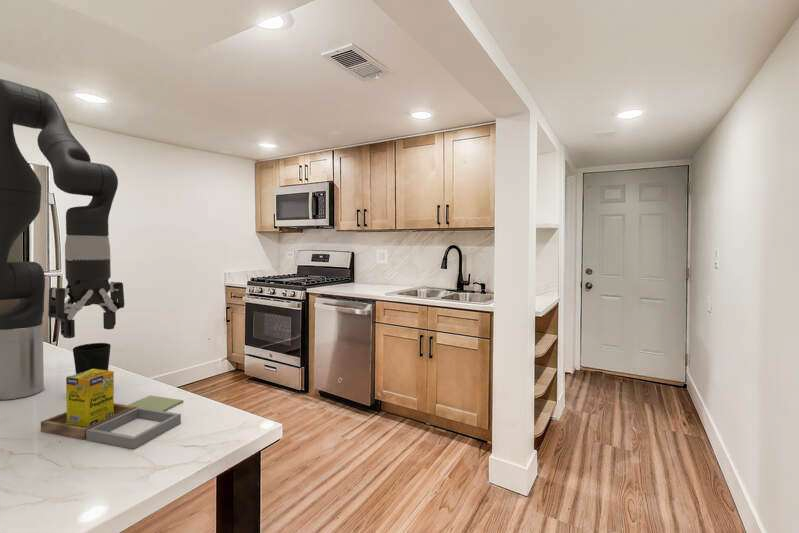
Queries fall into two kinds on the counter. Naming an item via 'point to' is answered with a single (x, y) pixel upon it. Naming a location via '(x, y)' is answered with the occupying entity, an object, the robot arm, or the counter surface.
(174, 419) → the grey tray
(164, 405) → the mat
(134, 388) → the counter surface
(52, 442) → the counter surface
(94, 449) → the counter surface
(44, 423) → the walnut tray
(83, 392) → the supplement box
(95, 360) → the cup
